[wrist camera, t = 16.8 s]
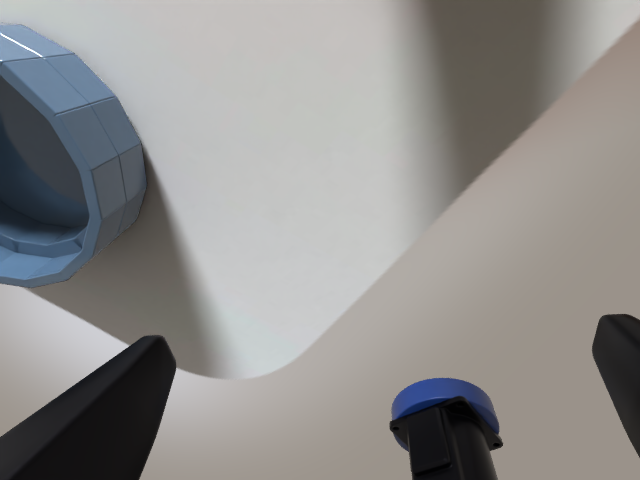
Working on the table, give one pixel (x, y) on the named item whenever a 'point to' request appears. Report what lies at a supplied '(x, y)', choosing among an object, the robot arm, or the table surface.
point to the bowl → (60, 162)
